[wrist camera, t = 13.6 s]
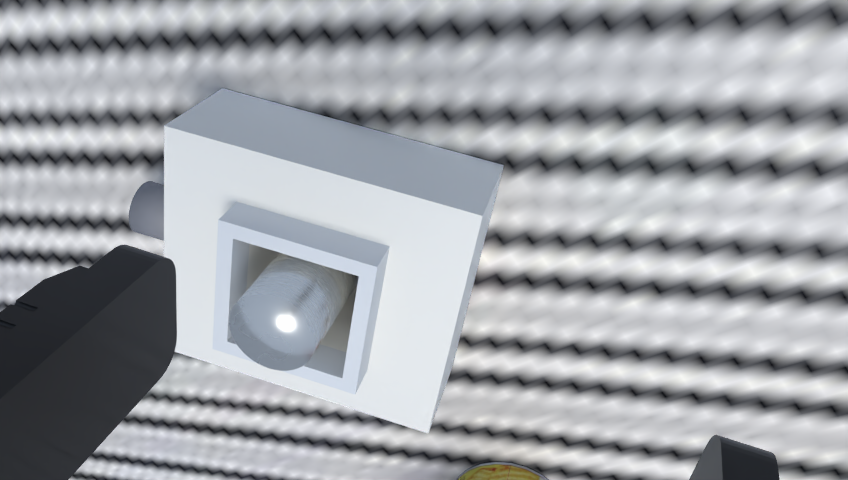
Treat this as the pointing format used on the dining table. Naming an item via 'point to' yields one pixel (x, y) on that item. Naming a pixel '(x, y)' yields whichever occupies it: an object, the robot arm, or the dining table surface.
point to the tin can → (289, 311)
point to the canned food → (500, 472)
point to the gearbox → (323, 243)
